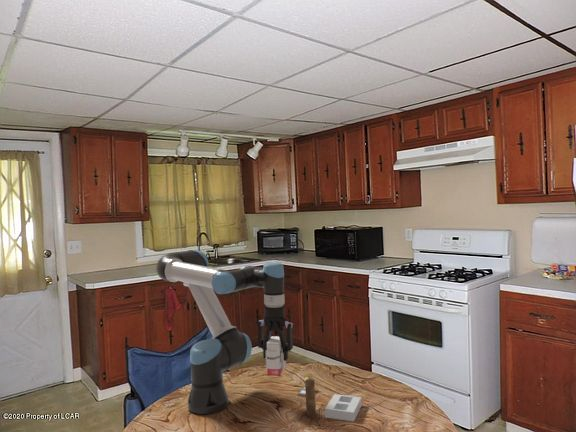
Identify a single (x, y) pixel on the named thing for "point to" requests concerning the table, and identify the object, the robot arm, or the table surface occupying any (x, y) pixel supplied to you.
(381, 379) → the table surface
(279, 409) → the table surface
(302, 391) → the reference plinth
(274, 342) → the ink box
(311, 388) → the walnut peg
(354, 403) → the socket board
